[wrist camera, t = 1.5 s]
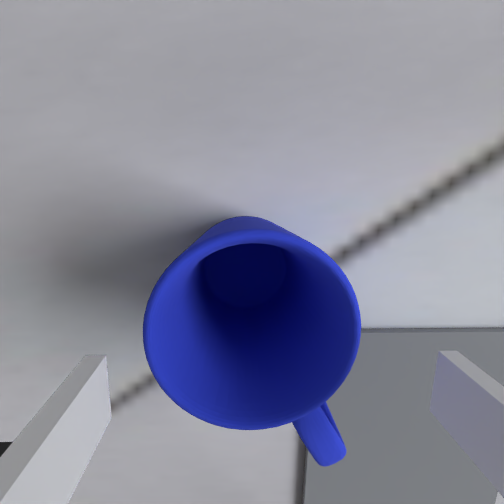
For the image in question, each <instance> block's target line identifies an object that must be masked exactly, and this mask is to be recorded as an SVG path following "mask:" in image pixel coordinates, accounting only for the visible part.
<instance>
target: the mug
mask: <svg viewBox="0 0 504 504" xmlns="http://www.w3.org/2000/svg"><path fill="white" fill-rule="evenodd" d="M360 337H361V318H360V311H359V306H358V302H357V298H356V295H355V293H354V290H353V288H352V286H351V284H350V282H349V280H348V279H347V277H346V275H345V274H344V273H343V271H342V270H341V268H340V267H339V266H338V265H337V264H336V263H335V262H334V261H333V260H332V259H331V258H330V257H329V256H328V255H327V254H326V253H325V252H323V251H322V250H321V249H319V248H318V247H316V246H315V245H313V244H312V243H310V242H308V241H306V240H304V239H302V238H301V237H299V236H297V235H295V234H293V233H291V232H289V231H287V230H285V229H284V228H282V227H280V226H278V225H276V224H274V223H272V222H270V221H268V220H265V219H262V218H258V217H251V216H241V217H234V218H230V219H227V220H224V221H222V222H220V223H218V224H216V225H214V226H213V227H211V228H210V229H209V230H208V231H206V232H205V233H204V234H203V235H202V236H201V237H200V238H199V239H198V240H196V241H195V242H194V243H193V244H192V245H191V246H190V247H189V248H188V249H186V250H185V251H184V252H183V253H182V254H181V255H180V256H179V257H177V258H176V259H175V260H174V261H173V262H172V263H171V264H170V265H169V267H168V268H167V269H166V270H165V271H164V273H163V274H162V275H161V277H160V278H159V280H158V281H157V283H156V285H155V287H154V289H153V291H152V293H151V295H150V298H149V300H148V303H147V307H146V311H145V314H144V322H143V342H144V349H145V354H146V358H147V361H148V364H149V367H150V369H151V371H152V373H153V375H154V377H155V379H156V380H157V382H158V384H159V385H160V387H161V388H162V389H163V390H164V392H165V393H166V394H167V395H168V396H169V397H170V398H171V399H172V400H173V401H174V402H175V403H176V404H177V405H178V406H180V407H181V408H182V409H184V410H185V411H187V412H188V413H190V414H191V415H193V416H195V417H197V418H199V419H201V420H203V421H205V422H208V423H211V424H214V425H217V426H221V427H225V428H230V429H239V430H259V429H267V428H273V427H278V426H281V425H284V424H287V423H291V422H292V423H293V425H294V427H295V429H296V430H297V432H298V434H299V436H300V438H301V439H302V441H303V443H304V444H305V446H306V447H307V449H308V451H309V452H310V454H311V455H312V456H313V458H314V459H315V461H316V462H317V463H318V464H319V465H320V466H324V467H325V466H330V465H332V464H335V463H336V462H338V461H340V460H342V459H343V458H344V457H345V455H346V447H345V444H344V442H343V439H342V437H341V435H340V433H339V430H338V428H337V426H336V423H335V421H334V419H333V417H332V414H331V412H330V410H329V407H328V405H327V403H326V401H327V400H328V399H329V398H330V397H331V396H332V395H333V394H334V393H335V392H336V391H337V389H338V388H339V387H340V386H341V385H342V383H343V382H344V380H345V379H346V377H347V375H348V374H349V372H350V370H351V368H352V366H353V363H354V361H355V359H356V355H357V352H358V348H359V343H360Z"/></svg>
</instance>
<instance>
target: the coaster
mask: <svg viewBox="0 0 504 504" xmlns="http://www.w3.org/2000/svg"><path fill="white" fill-rule="evenodd" d="M438 351H458V352H459V353H461V354H462V355H463V356H465V357H466V358H467V359H468V360H470V361H471V362H472V363H474V364H475V365H476V366H478V367H479V368H480V369H481V370H483V371H484V372H485V373H487V374H488V375H489V376H491V377H492V378H493V379H495V380H496V381H497V382H498V383H500V384H501V385H502V386H504V328H420V329H361V337H360V343H359V348H358V352H357V355H356V359H355V361H354V363H353V366H352V368H351V370H350V372H349V374H348V375H347V377H346V379H345V380H344V382H343V383H342V385H341V386H340V387H339V388H338V389H337V391H336V392H335V393H334V394H333V395H332V396H331V397H330V398H329V399H328V400H327V401H326V403H327V405H328V407H329V410H330V412H331V414H332V417H333V419H334V421H335V423H336V426H337V428H338V430H339V433H340V435H341V437H342V439H343V442H344V444H345V447H346V455H345V457H344V458H343V459H342V460H340V461H338V462H336V463H335V464H332V465H330V466H325V467H324V466H320V465H319V464H318V463H317V462H316V461H315V459H314V458H313V456H312V455H311V454H310V452H309V451H308V449H307V447H306V455H305V470H304V485H303V499H302V504H495V501H496V497H497V492H498V490H497V489H496V488H495V487H494V486H493V485H492V483H491V482H490V481H489V480H488V479H487V478H486V476H485V475H484V474H483V473H482V472H481V470H480V469H479V468H478V467H477V466H476V465H475V463H474V462H473V461H472V460H471V459H470V457H469V456H468V455H467V454H466V453H465V452H464V450H463V449H462V448H461V447H460V446H459V445H458V443H457V442H456V441H455V440H454V439H453V437H452V436H451V435H450V434H449V433H448V432H447V430H446V429H445V428H444V427H443V426H442V424H441V423H440V422H439V421H438V420H437V419H436V417H435V416H434V415H433V414H432V413H431V412H430V403H431V397H432V390H433V384H434V377H435V371H436V364H437V358H438Z"/></svg>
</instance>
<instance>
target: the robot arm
mask: <svg viewBox="0 0 504 504" xmlns="http://www.w3.org/2000/svg"><path fill="white" fill-rule="evenodd" d="M430 412H431V413H432V414H433V415H434V416H435V417H436V419H437V420H438V421H439V422H440V423H441V424H442V426H443V427H444V428H445V429H446V430H447V432H448V433H449V434H450V435H451V436H452V437H453V439H454V440H455V441H456V442H457V443H458V445H459V446H460V447H461V448H462V449H463V450H464V452H465V453H466V454H467V455H468V456H469V457H470V459H471V460H472V461H473V462H474V463H475V465H476V466H477V467H478V468H479V469H480V470H481V472H482V473H483V474H484V475H485V476H486V478H487V479H488V480H489V481H490V482H491V483H492V485H493V486H494V487H495V488H496V489H497V490H498V492H499V493H500V494H501V495H502V496H503V498H504V386H502V385H501V384H500V383H498V382H497V381H496V380H495V379H493V378H492V377H491V376H489V375H488V374H487V373H485V372H484V371H483V370H481V369H480V368H479V367H478V366H476V365H475V364H474V363H472V362H471V361H470V360H468V359H467V358H466V357H465V356H463V355H462V354H461V353H459V352H458V351H438V358H437V364H436V371H435V377H434V384H433V390H432V397H431V403H430ZM111 418H112V416H111V405H110V393H109V382H108V370H107V359H106V355H85V357H84V358H83V359H82V360H81V361H80V363H79V364H78V365H77V366H76V367H75V369H74V370H73V371H72V372H71V373H70V374H69V376H68V377H67V378H66V379H65V380H64V382H63V383H62V384H61V385H60V386H59V388H58V389H57V390H56V391H55V392H54V394H53V395H52V396H51V397H50V398H49V400H48V401H47V402H46V403H45V404H44V406H43V407H42V408H41V409H40V410H39V412H38V413H37V414H36V415H35V416H34V417H33V419H32V420H31V421H30V422H29V423H28V425H27V426H26V427H25V428H24V429H23V431H22V432H21V433H20V434H19V435H18V437H17V438H16V439H15V440H14V441H13V442H0V504H68V502H69V501H70V499H71V497H72V495H73V493H74V491H75V489H76V487H77V485H78V483H79V481H80V479H81V477H82V475H83V473H84V471H85V469H86V467H87V465H88V463H89V461H90V459H91V457H92V455H93V453H94V451H95V449H96V447H97V445H98V444H99V442H100V440H101V438H102V436H103V434H104V432H105V430H106V428H107V426H108V424H109V422H110V420H111Z"/></svg>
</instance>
